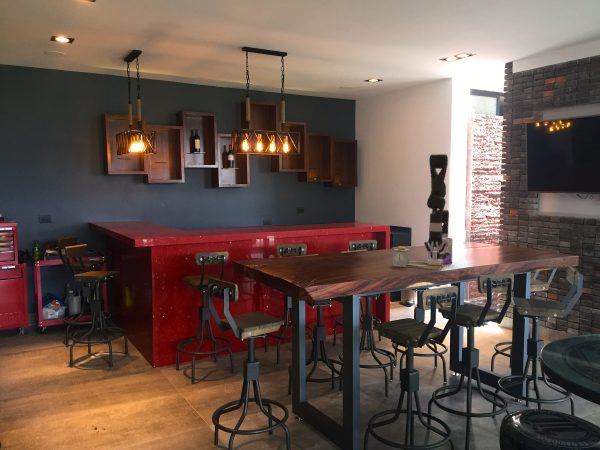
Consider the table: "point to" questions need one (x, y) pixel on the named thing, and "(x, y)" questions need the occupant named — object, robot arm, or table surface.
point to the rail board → (423, 265)
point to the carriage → (434, 259)
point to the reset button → (401, 248)
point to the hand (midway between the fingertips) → (435, 258)
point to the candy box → (444, 251)
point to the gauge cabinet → (401, 257)
